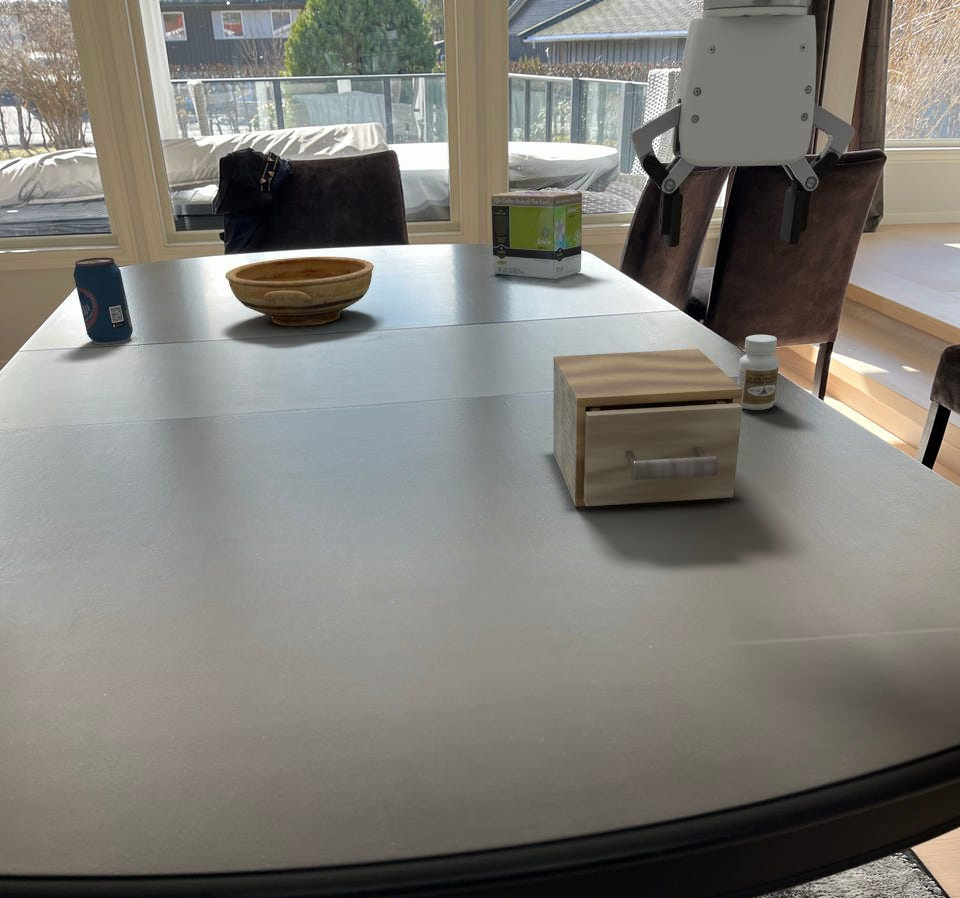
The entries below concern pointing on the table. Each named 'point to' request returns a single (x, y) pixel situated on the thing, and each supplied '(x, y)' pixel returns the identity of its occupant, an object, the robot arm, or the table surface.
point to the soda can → (103, 300)
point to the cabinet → (624, 394)
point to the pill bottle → (758, 372)
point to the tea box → (537, 233)
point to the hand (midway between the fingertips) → (729, 243)
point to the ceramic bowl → (301, 287)
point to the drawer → (660, 451)
